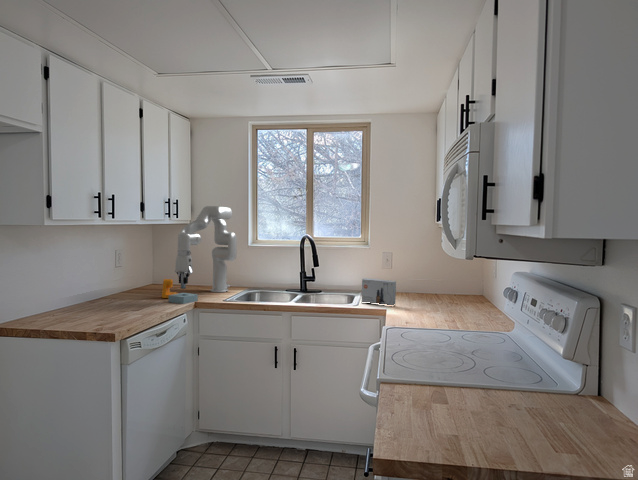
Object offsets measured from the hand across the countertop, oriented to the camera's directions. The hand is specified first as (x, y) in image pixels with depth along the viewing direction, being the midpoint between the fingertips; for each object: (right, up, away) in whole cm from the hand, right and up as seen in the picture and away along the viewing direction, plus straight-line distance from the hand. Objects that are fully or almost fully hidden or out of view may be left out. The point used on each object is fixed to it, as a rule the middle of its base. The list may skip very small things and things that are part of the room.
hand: (183, 283), depth 261 cm
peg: (0, -3, 0) cm, 3 cm away
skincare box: (+120, -15, +7) cm, 121 cm away
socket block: (0, -11, +1) cm, 11 cm away
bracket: (-12, -11, +12) cm, 21 cm away
